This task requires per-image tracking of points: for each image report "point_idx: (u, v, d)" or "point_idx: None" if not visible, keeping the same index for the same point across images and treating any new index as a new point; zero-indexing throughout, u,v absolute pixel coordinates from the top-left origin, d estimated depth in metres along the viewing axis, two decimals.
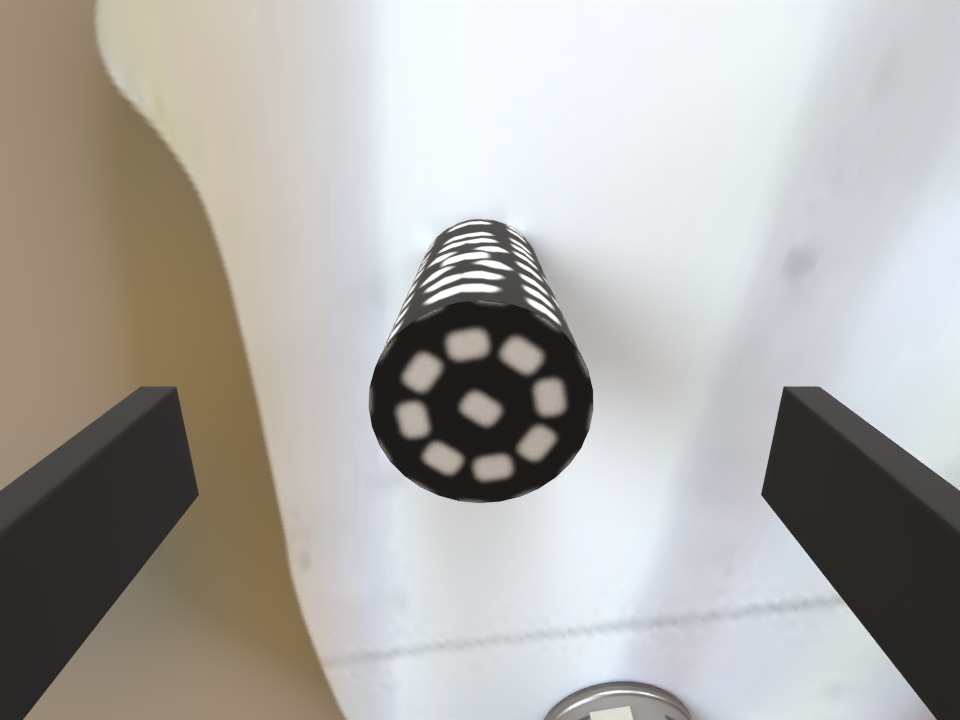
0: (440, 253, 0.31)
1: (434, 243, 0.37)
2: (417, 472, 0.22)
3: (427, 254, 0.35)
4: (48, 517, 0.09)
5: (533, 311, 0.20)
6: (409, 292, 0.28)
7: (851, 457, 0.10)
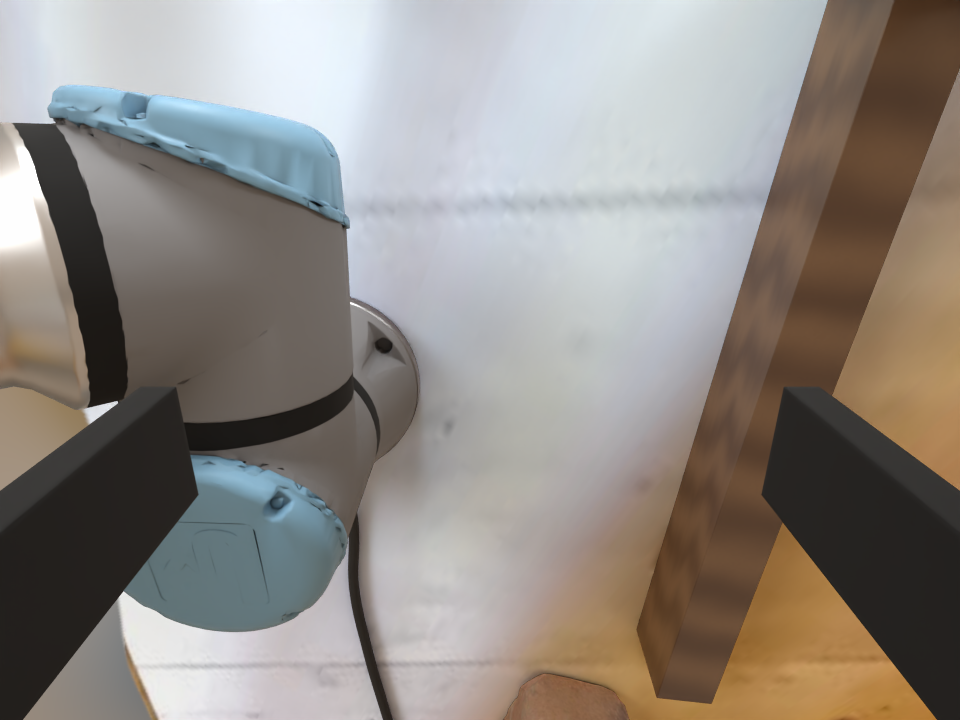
0: None
1: None
2: None
3: None
4: (48, 517, 0.09)
5: None
6: None
7: (851, 457, 0.10)
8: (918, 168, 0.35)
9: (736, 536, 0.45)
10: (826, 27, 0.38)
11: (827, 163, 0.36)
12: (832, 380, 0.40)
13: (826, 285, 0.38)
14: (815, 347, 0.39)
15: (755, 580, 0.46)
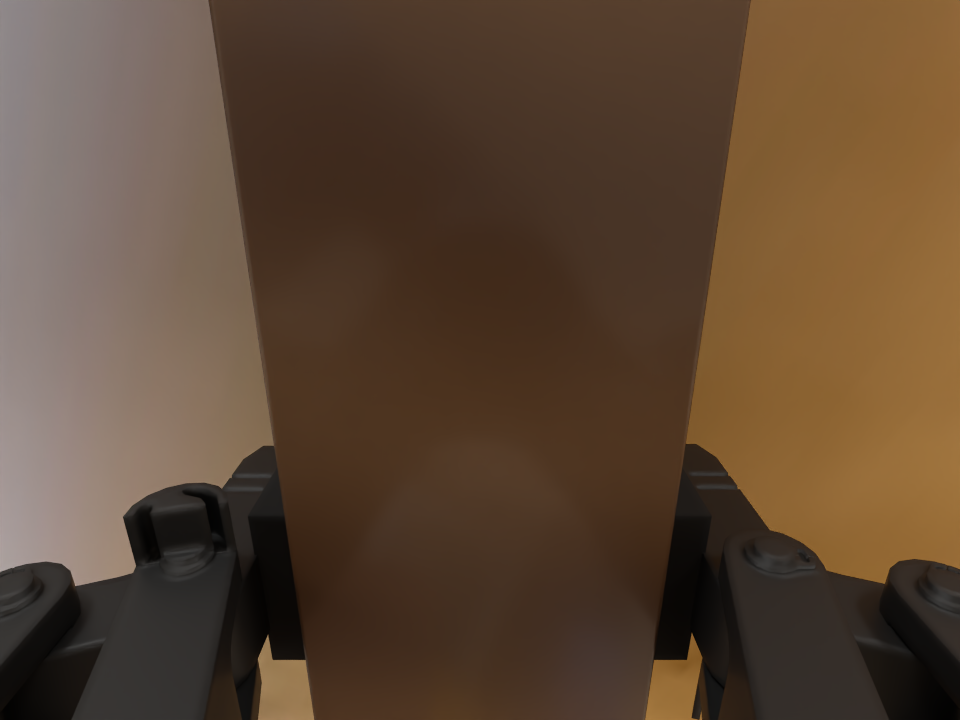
0: None
1: None
2: None
3: None
4: None
5: None
6: None
7: None
8: None
9: None
10: None
11: None
12: None
13: None
14: None
15: None
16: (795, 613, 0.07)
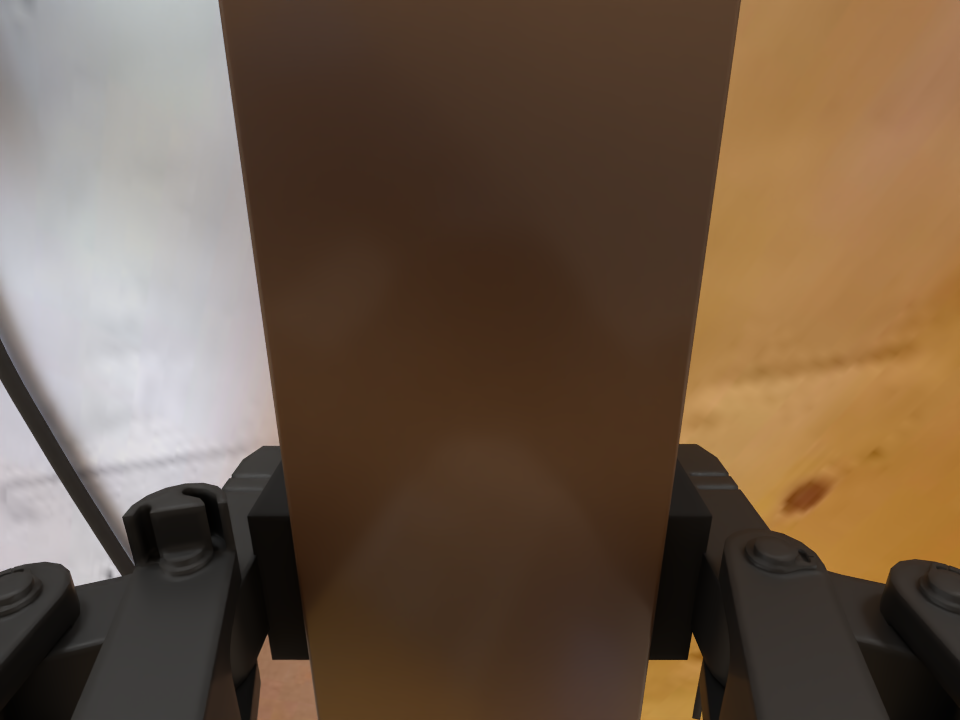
0: None
1: None
2: None
3: None
4: None
5: None
6: None
7: None
8: None
9: None
10: None
11: None
12: None
13: None
14: None
15: (704, 4, 0.05)
16: (795, 612, 0.07)
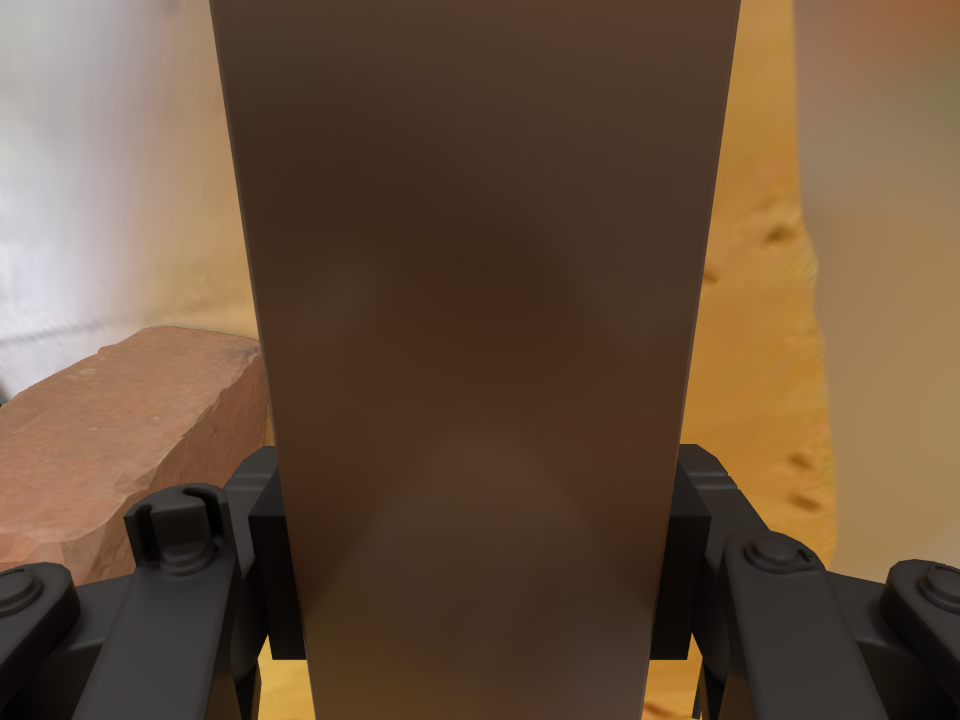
0: None
1: None
2: None
3: None
4: None
5: None
6: None
7: None
8: None
9: None
10: None
11: None
12: None
13: None
14: None
15: (705, 1, 0.05)
16: (795, 612, 0.07)
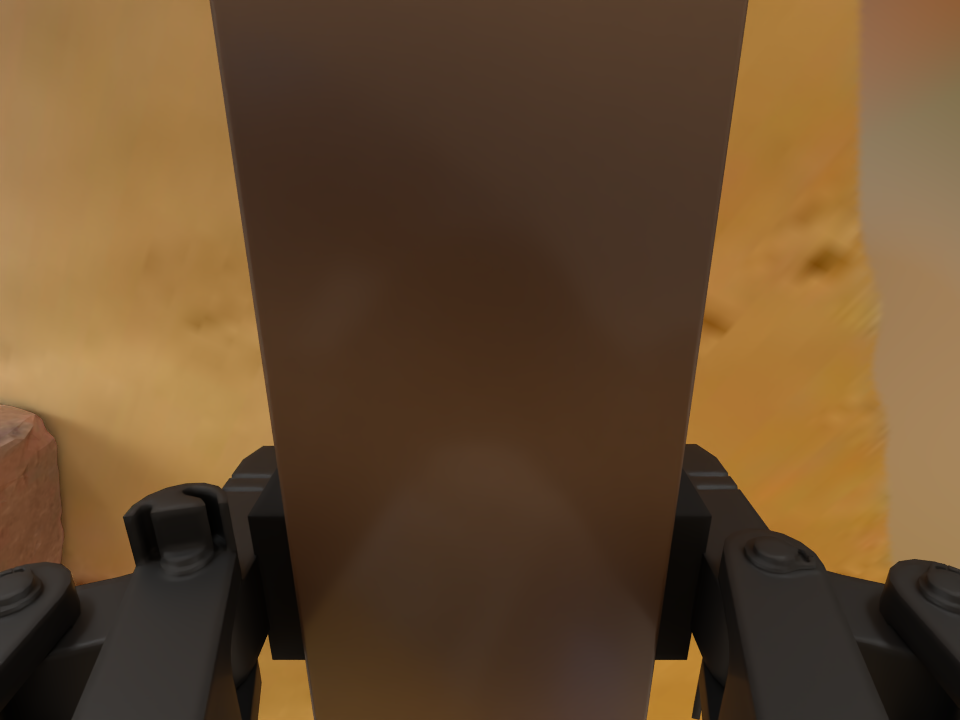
0: None
1: None
2: None
3: None
4: None
5: None
6: None
7: None
8: None
9: None
10: None
11: None
12: None
13: None
14: None
15: None
16: (795, 612, 0.07)
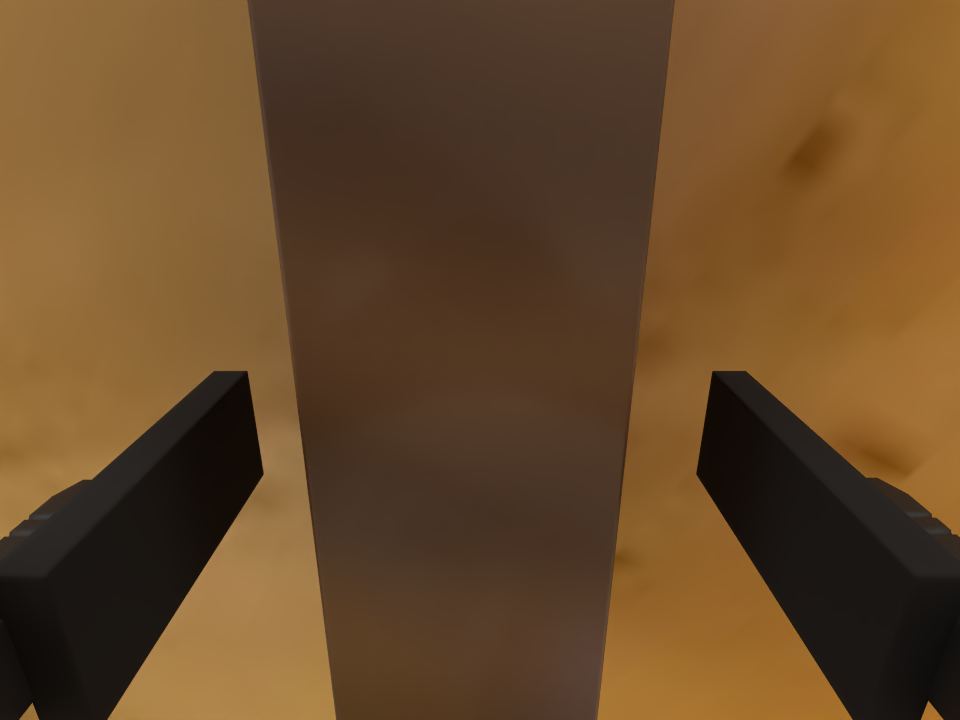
0: None
1: None
2: None
3: None
4: (157, 484, 0.09)
5: None
6: None
7: (760, 433, 0.11)
8: None
9: None
10: None
11: None
12: None
13: None
14: None
15: None
16: None
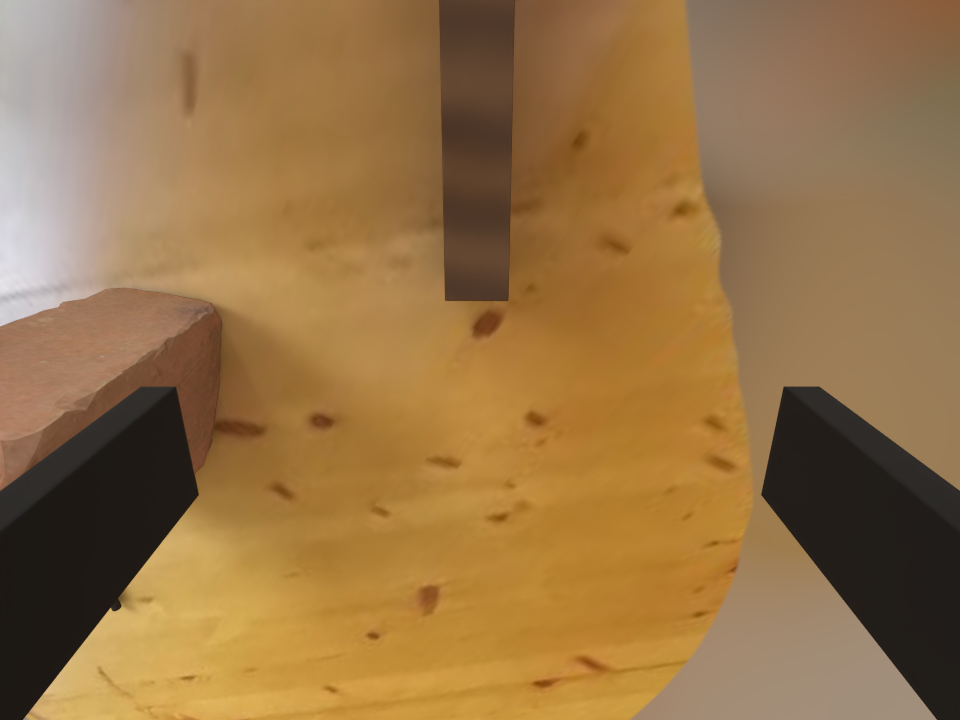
0: None
1: None
2: None
3: None
4: (48, 517, 0.09)
5: None
6: None
7: (851, 457, 0.10)
8: None
9: (467, 45, 0.39)
10: None
11: None
12: None
13: None
14: None
15: (507, 108, 0.41)
16: None
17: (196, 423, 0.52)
